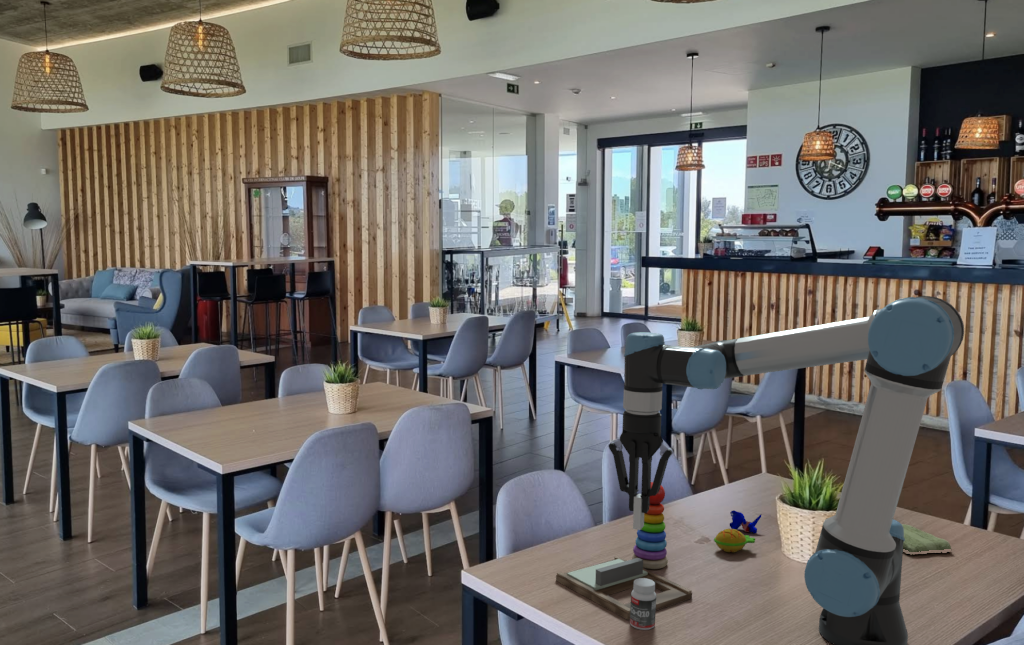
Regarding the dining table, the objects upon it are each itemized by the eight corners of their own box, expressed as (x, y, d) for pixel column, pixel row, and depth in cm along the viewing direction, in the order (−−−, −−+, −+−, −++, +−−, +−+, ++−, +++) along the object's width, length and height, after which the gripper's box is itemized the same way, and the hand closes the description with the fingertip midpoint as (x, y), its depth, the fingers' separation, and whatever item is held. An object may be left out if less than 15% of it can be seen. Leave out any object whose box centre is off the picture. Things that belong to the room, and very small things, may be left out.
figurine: (730, 525, 212) (731, 507, 212) (760, 531, 209) (761, 512, 208) (726, 531, 208) (727, 512, 208) (757, 536, 205) (758, 518, 204)
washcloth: (904, 530, 212) (905, 518, 212) (955, 555, 195) (955, 542, 195) (860, 533, 210) (860, 521, 209) (907, 559, 192) (908, 546, 192)
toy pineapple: (707, 548, 196) (708, 526, 195) (742, 543, 199) (743, 522, 199) (724, 558, 189) (725, 536, 189) (760, 553, 193) (761, 531, 192)
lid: (647, 574, 175) (648, 558, 175) (594, 590, 166) (595, 573, 166) (618, 561, 182) (619, 545, 182) (566, 575, 174) (567, 559, 173)
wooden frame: (691, 598, 167) (692, 590, 167) (627, 619, 156) (627, 611, 156) (618, 563, 185) (618, 556, 185) (555, 580, 174) (556, 573, 174)
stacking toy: (667, 572, 180) (670, 489, 179) (631, 568, 182) (633, 486, 180) (667, 559, 188) (671, 479, 186) (633, 555, 190) (635, 476, 188)
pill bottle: (626, 626, 154) (627, 583, 153) (634, 617, 158) (636, 575, 157) (650, 632, 151) (652, 589, 151) (658, 622, 156) (660, 580, 155)
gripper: (679, 410, 162) (675, 526, 164) (616, 404, 167) (612, 517, 169) (670, 417, 155) (666, 538, 157) (604, 411, 160) (601, 528, 162)
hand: (638, 527), depth 163 cm, fingers closed
